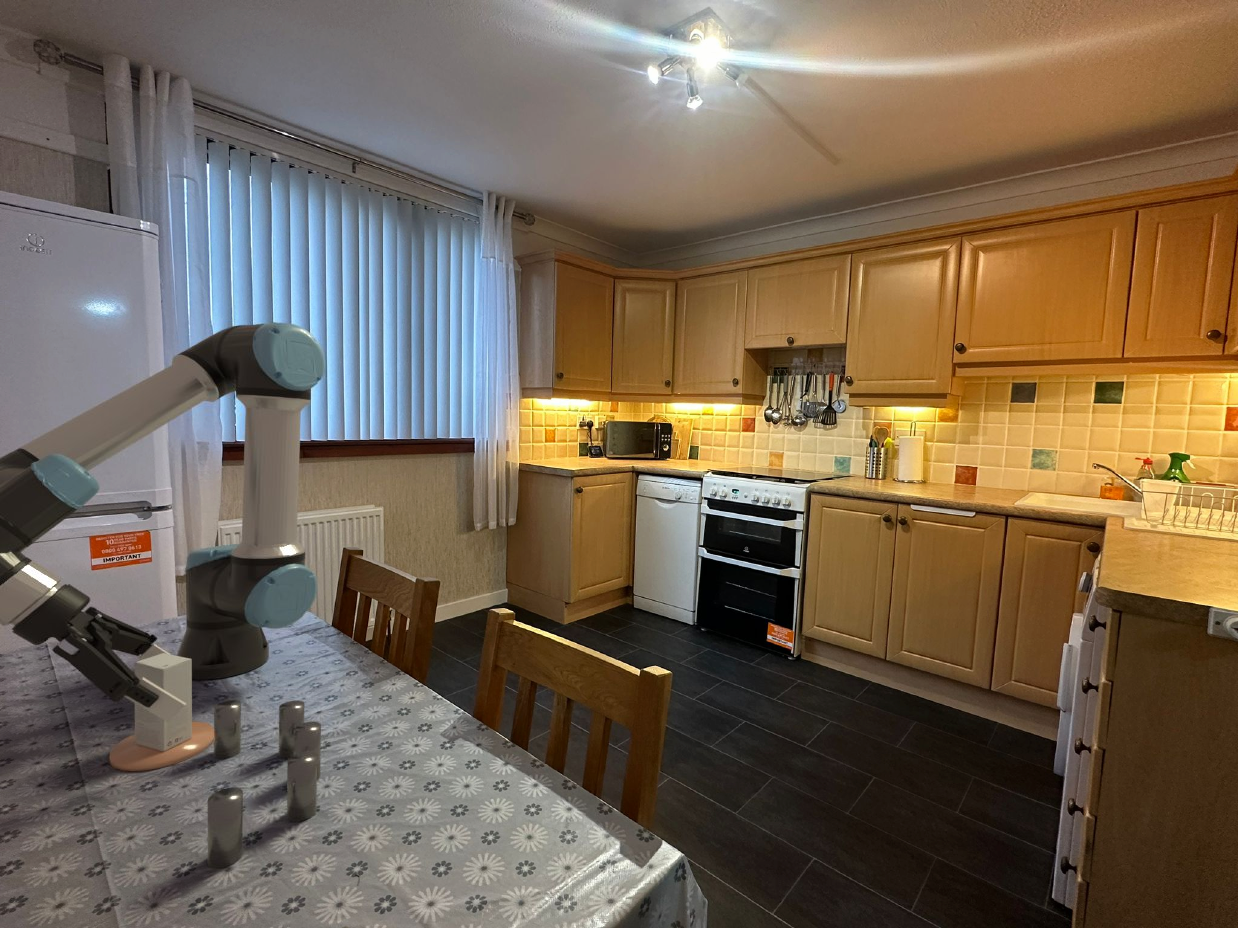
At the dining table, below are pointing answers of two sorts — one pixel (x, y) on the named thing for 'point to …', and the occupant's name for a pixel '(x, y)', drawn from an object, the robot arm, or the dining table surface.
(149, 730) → the skincare box
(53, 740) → the dining table surface
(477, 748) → the dining table surface
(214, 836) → the set of grey cylinders
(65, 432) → the robot arm
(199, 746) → the saucer
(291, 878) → the dining table surface
